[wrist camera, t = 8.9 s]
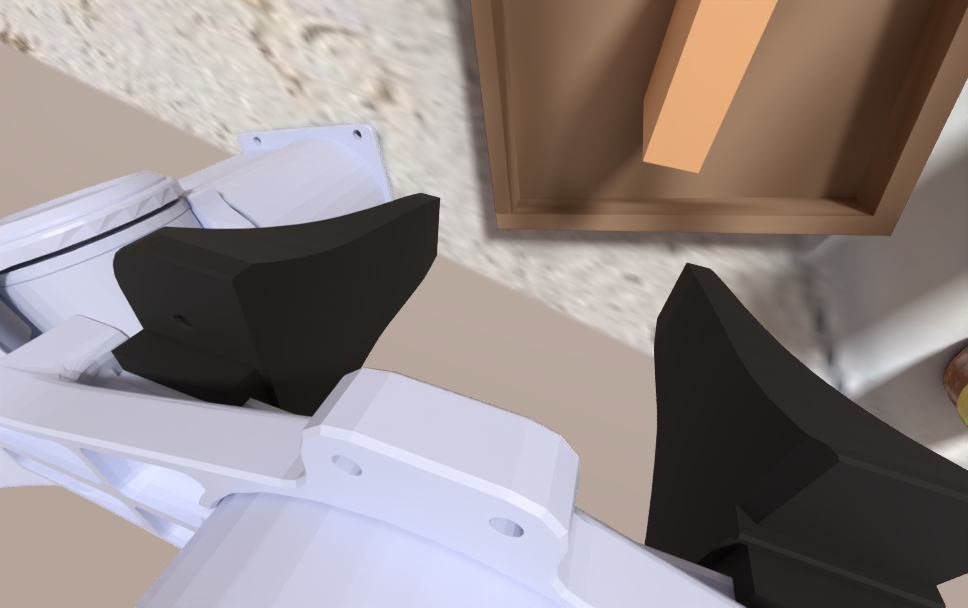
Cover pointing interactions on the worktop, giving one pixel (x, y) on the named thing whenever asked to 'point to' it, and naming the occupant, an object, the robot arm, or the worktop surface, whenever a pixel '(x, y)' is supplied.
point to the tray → (744, 130)
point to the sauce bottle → (958, 383)
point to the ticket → (698, 77)
